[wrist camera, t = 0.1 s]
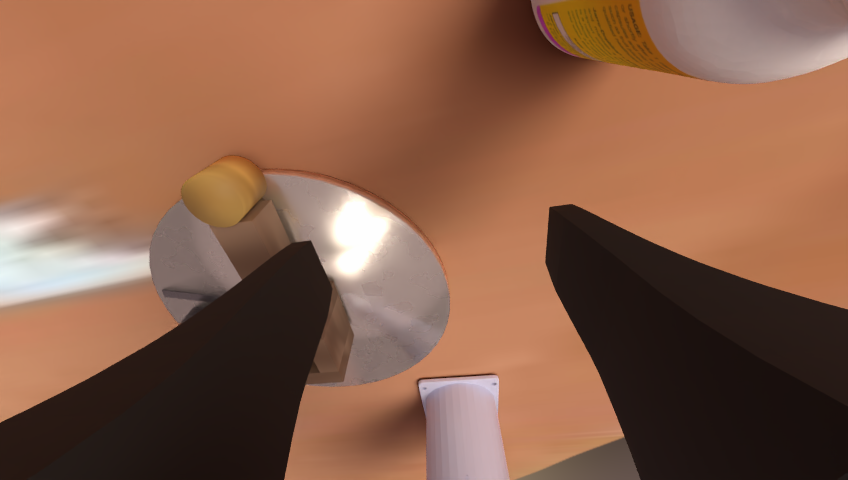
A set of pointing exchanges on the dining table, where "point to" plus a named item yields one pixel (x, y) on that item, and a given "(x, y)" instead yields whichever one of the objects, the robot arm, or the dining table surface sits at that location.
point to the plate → (326, 268)
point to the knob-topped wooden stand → (260, 245)
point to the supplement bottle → (701, 35)
